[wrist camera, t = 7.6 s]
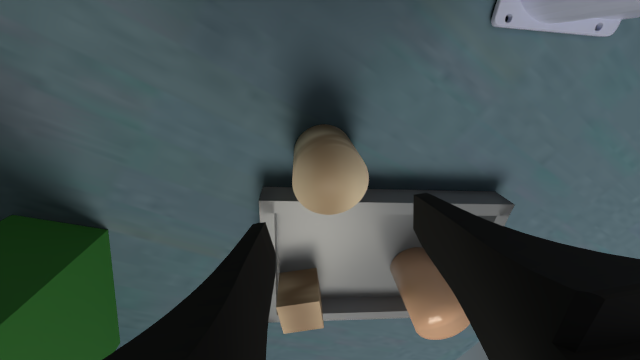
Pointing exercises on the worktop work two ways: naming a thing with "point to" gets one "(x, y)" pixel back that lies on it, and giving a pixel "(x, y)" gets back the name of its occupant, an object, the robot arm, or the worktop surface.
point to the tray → (357, 245)
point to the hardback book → (55, 291)
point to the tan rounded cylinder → (427, 296)
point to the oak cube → (299, 301)
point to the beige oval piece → (328, 171)
